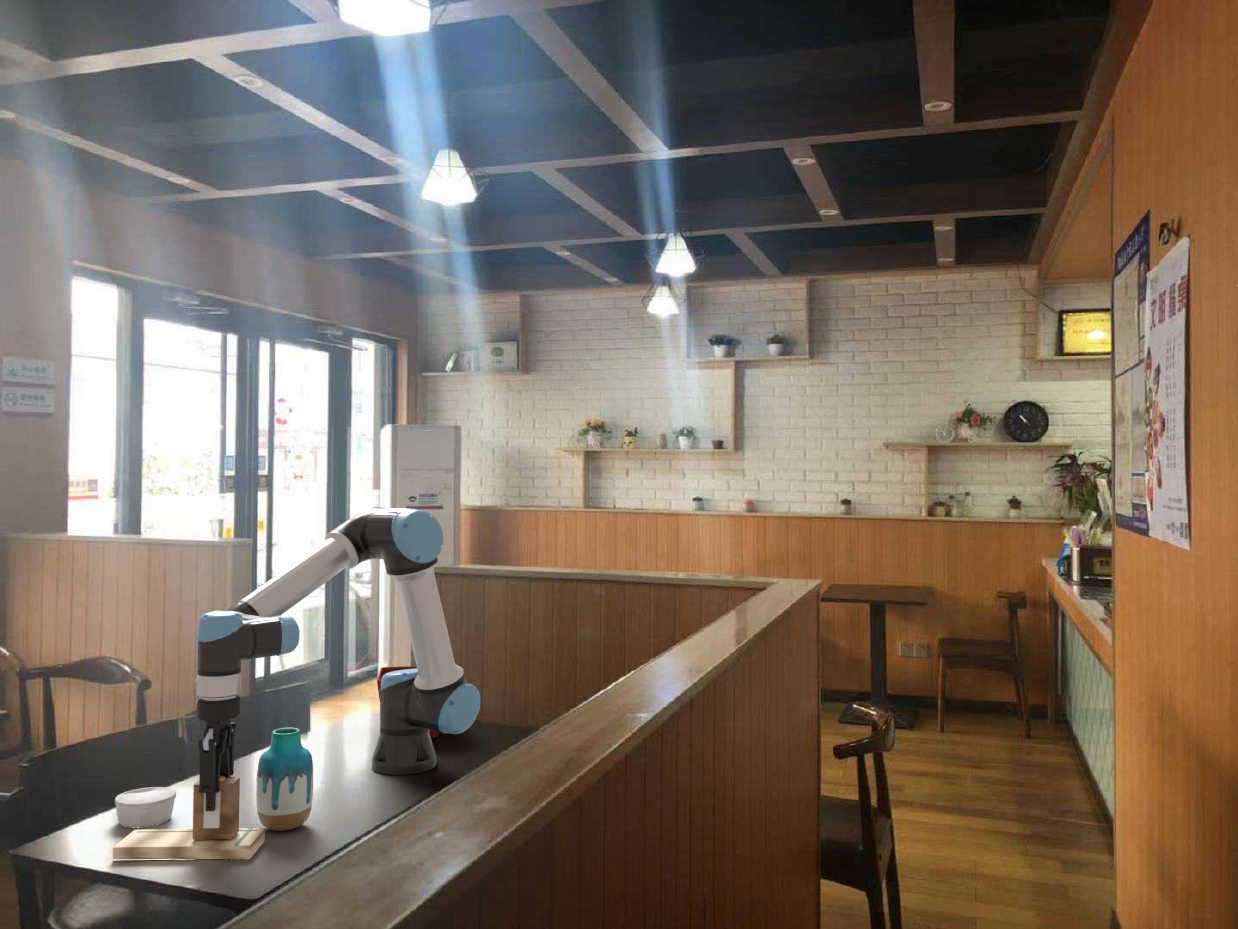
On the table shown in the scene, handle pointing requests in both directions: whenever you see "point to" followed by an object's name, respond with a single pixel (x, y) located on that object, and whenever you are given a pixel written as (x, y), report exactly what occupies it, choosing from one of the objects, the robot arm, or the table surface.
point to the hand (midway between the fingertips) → (216, 822)
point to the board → (188, 845)
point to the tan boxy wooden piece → (227, 811)
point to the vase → (284, 782)
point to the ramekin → (145, 806)
